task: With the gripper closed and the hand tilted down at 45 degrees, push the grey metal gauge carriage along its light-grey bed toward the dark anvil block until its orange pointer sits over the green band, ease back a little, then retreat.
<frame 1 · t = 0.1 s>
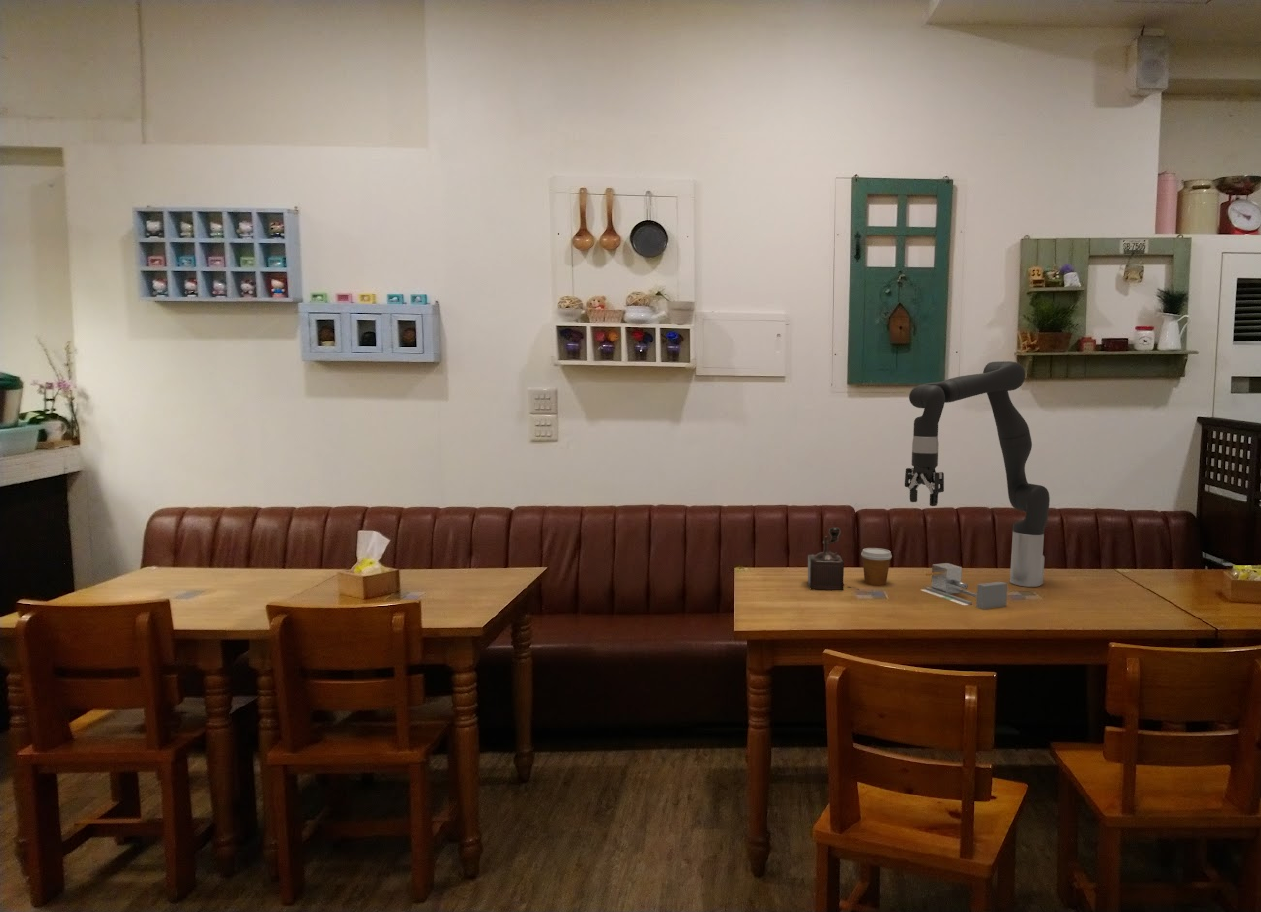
hand: (923, 503, 245), 29 cm above the table, tool pointing down, fingers open, 8 cm apart
disposable coffee cup: (875, 587, 258), on the table
gauge carriage: (946, 581, 245), point 5 cm above the table, slide at 0.0 cm
manual coffee grinder: (824, 584, 262), on the table
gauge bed: (962, 601, 243), on the table
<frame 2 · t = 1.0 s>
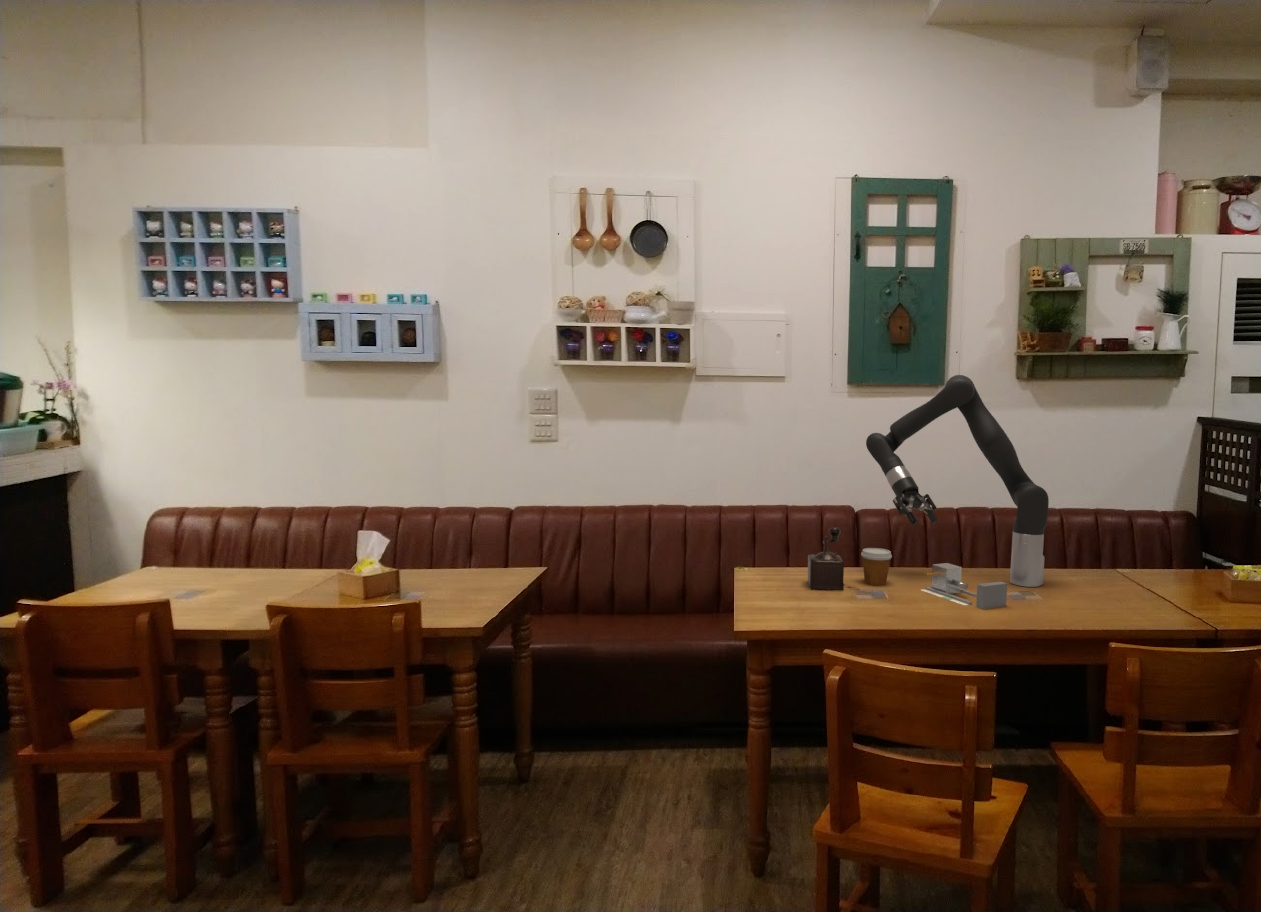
hand: (925, 522, 259), 21 cm above the table, tool tilted 45°, fingers open, 8 cm apart
nothing on the table moved.
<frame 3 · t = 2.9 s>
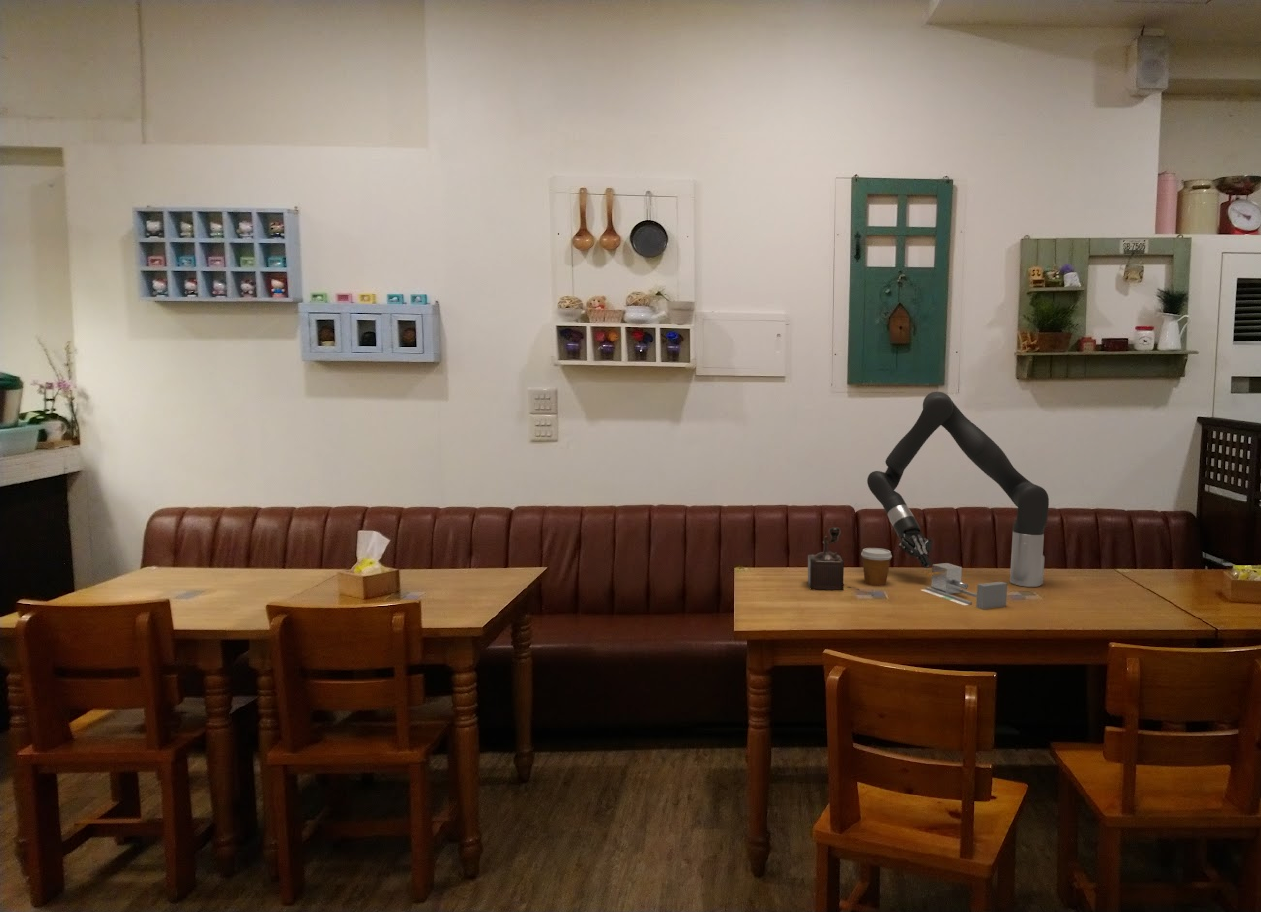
hand: (927, 566, 256), 8 cm above the table, tool tilted 45°, fingers closed
nothing on the table moved.
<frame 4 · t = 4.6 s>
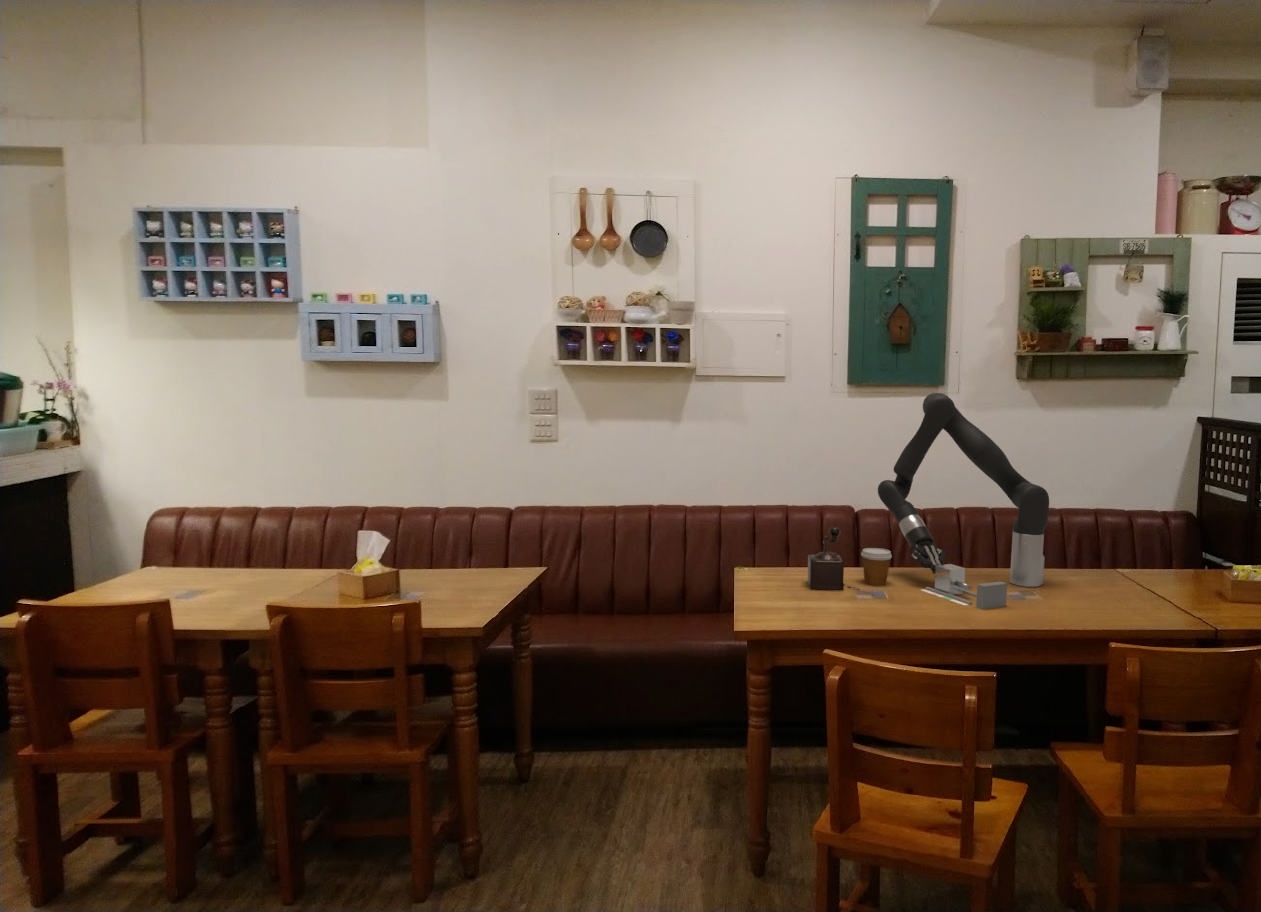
hand: (941, 577, 251), 5 cm above the table, tool tilted 45°, fingers closed
gauge carriage: (949, 582, 244), point 5 cm above the table, slide at 1.4 cm, touching gripper
everything else where it was.
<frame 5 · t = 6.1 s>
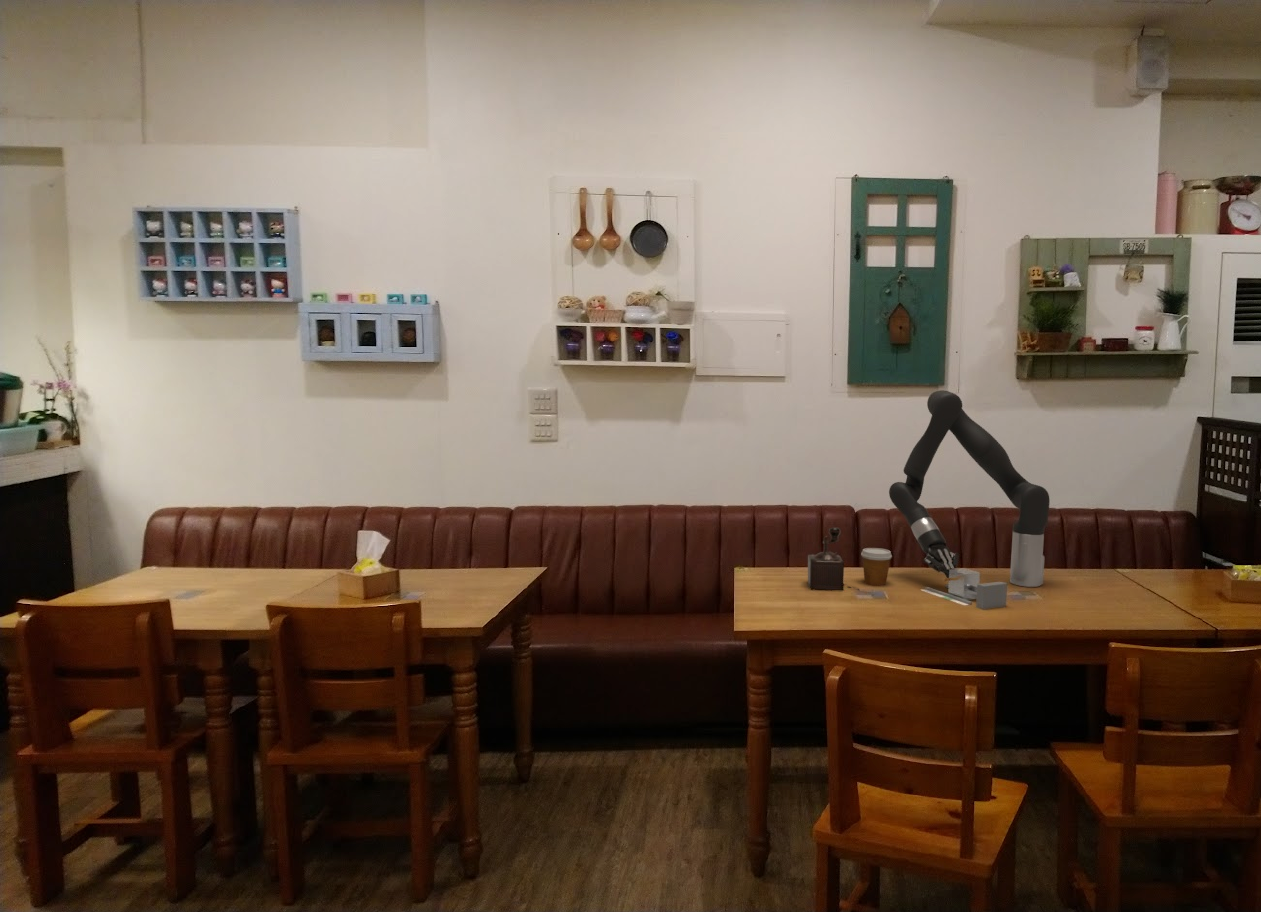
hand: (955, 581, 245), 5 cm above the table, tool tilted 45°, fingers closed
gauge carriage: (963, 586, 239), point 5 cm above the table, slide at 7.1 cm, touching gripper
everything else where it was.
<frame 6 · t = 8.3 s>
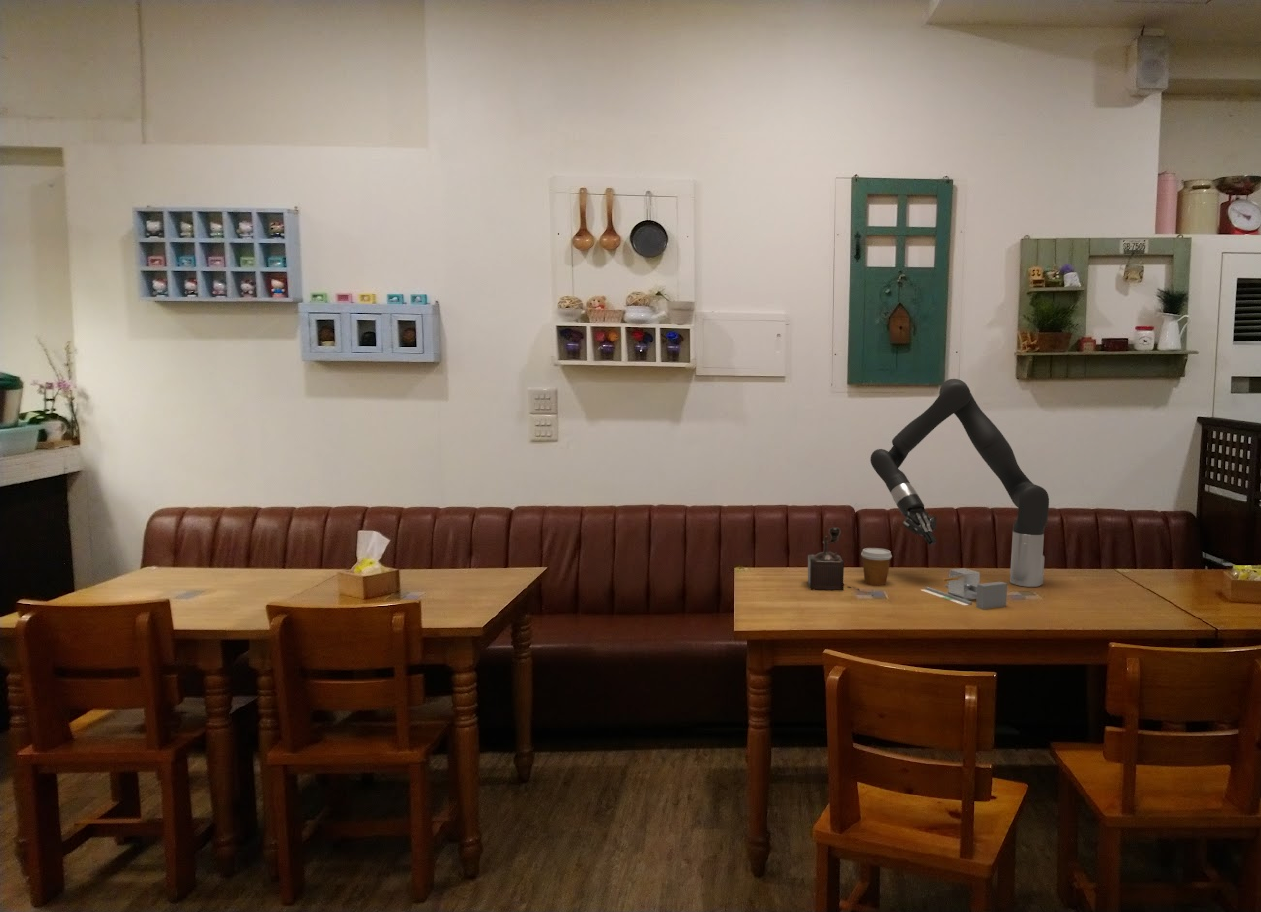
hand: (932, 543, 253), 15 cm above the table, tool tilted 45°, fingers closed
gauge carriage: (963, 586, 239), point 5 cm above the table, slide at 7.1 cm
everything else where it was.
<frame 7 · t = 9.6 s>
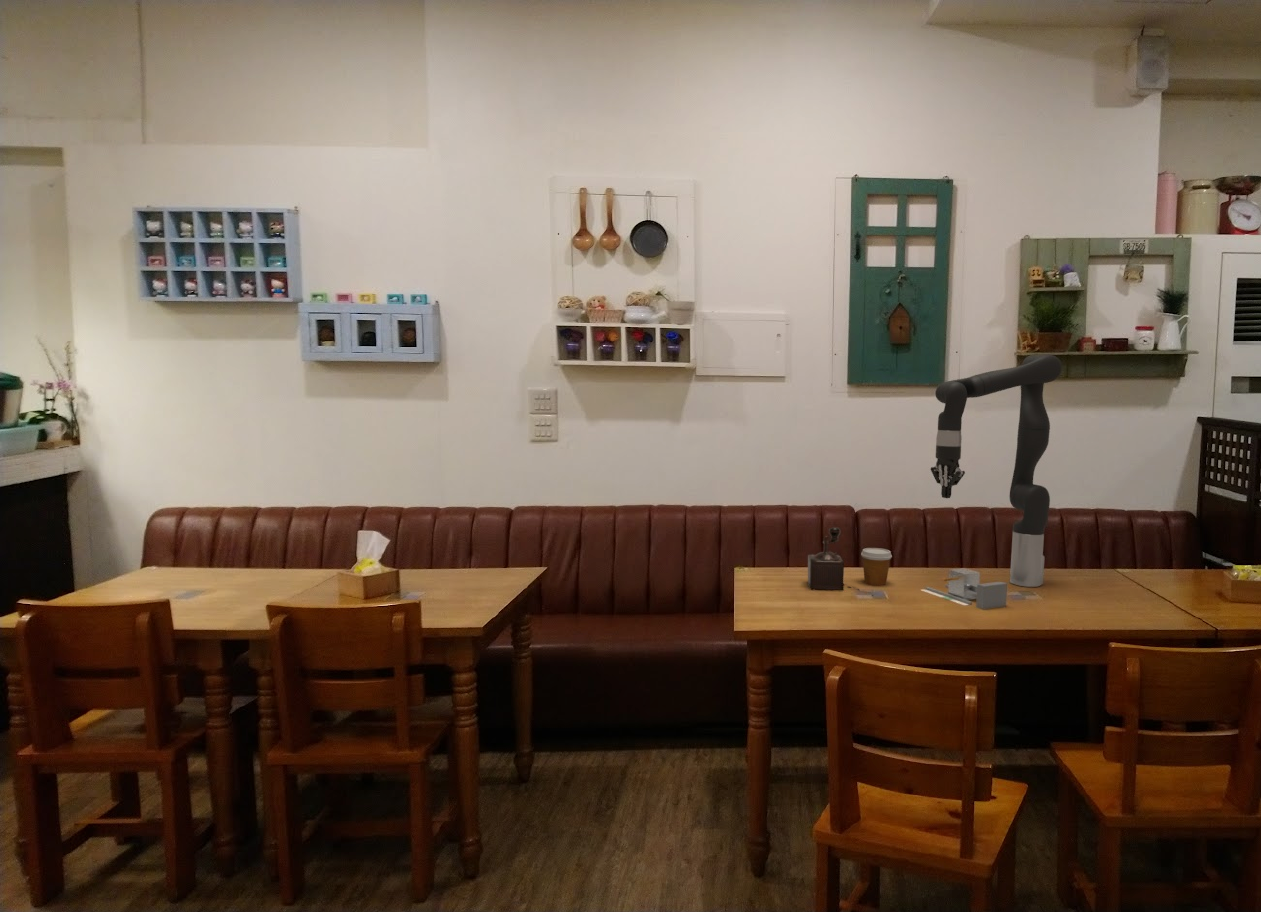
hand: (946, 497, 258), 29 cm above the table, tool pointing down, fingers closed
nothing on the table moved.
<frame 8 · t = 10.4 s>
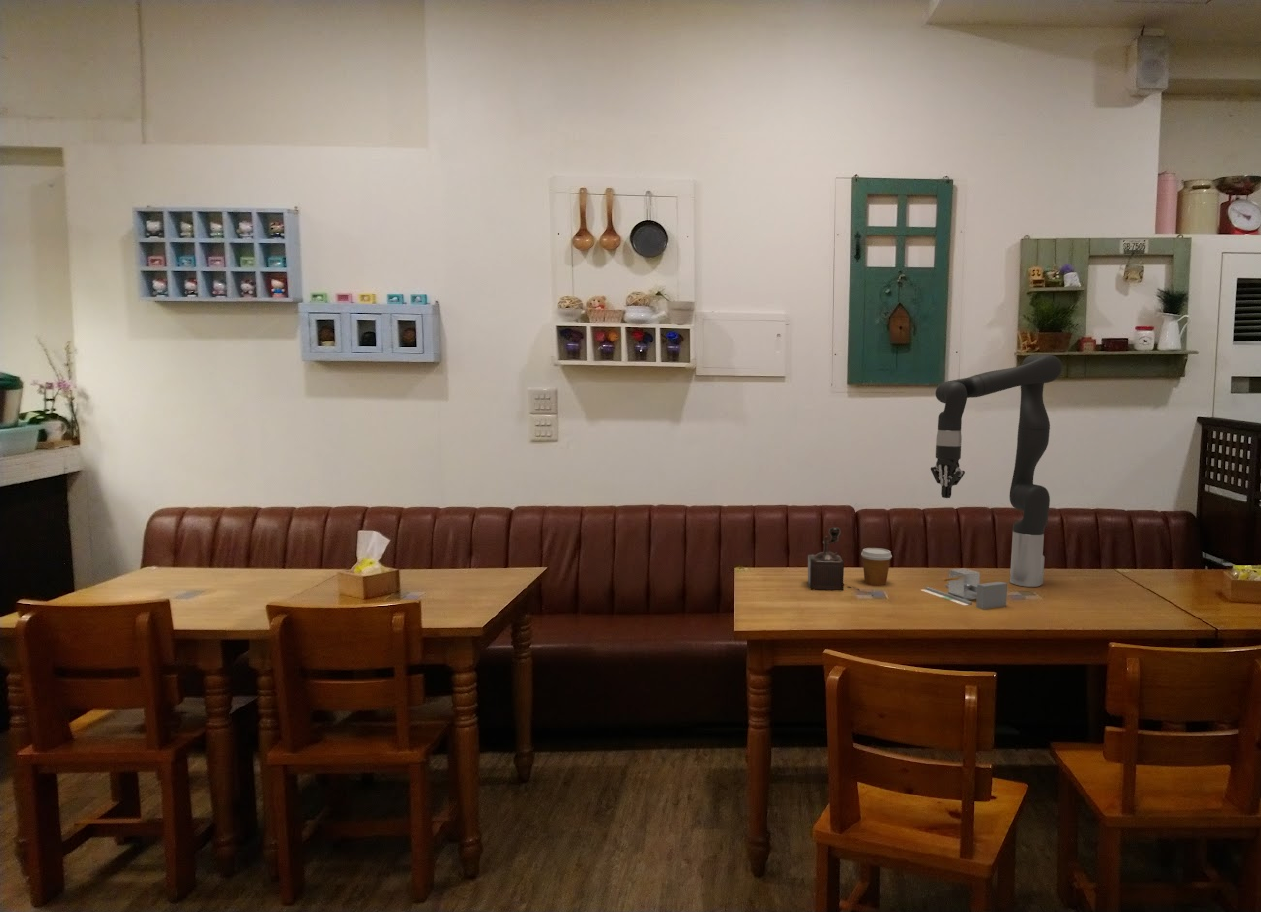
hand: (946, 497, 258), 29 cm above the table, tool pointing down, fingers closed
nothing on the table moved.
at the end: gauge carriage slide at 7.1 cm; gauge carriage moved 7.1 cm from its start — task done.
